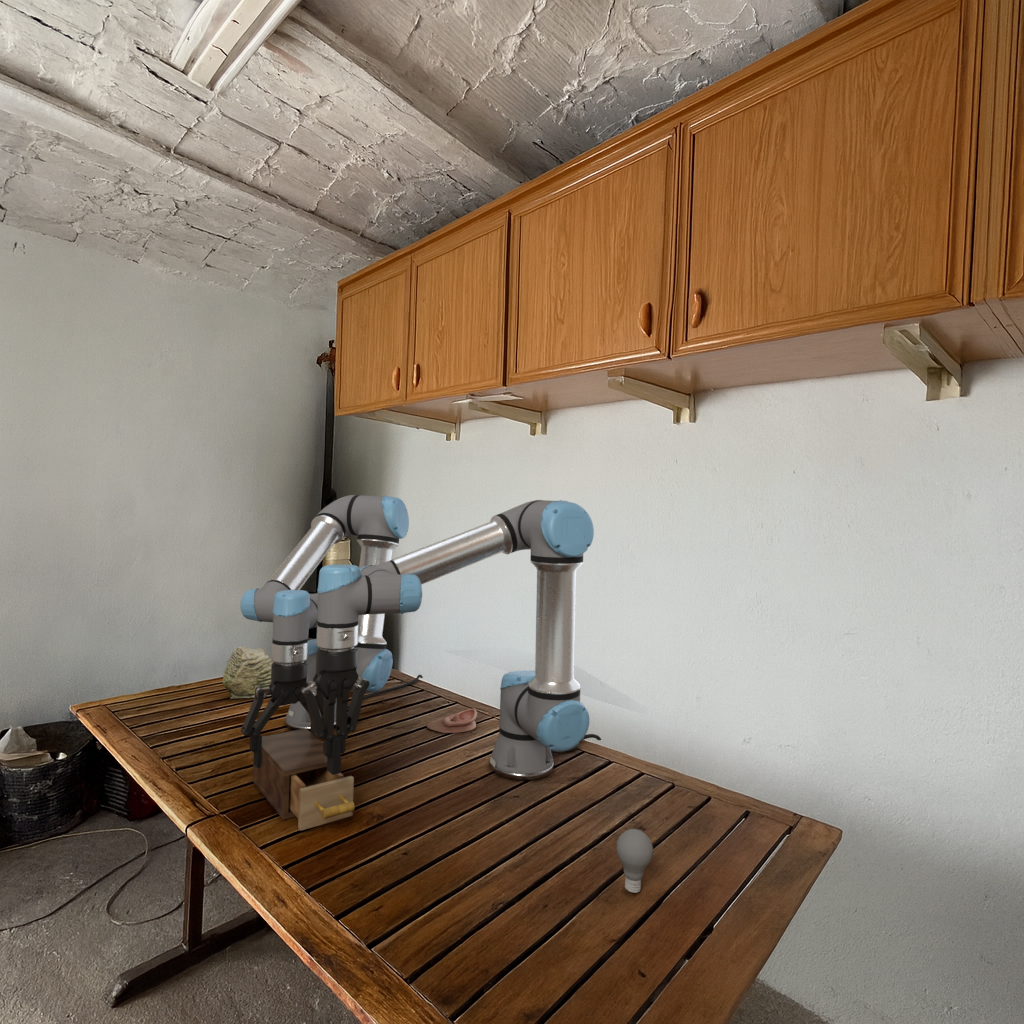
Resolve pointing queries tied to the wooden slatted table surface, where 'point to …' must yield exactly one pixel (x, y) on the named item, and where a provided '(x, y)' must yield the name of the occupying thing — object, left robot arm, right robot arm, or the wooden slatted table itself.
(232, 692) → the fossil
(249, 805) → the wooden slatted table surface
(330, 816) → the drawer
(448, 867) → the wooden slatted table surface
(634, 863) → the light bulb
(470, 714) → the anatomical model
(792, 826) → the wooden slatted table surface
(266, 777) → the cabinet
